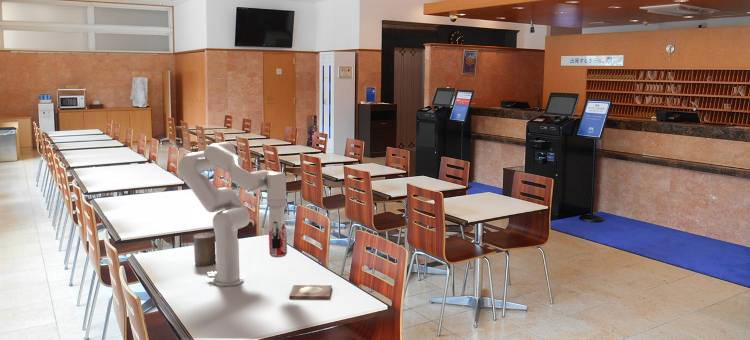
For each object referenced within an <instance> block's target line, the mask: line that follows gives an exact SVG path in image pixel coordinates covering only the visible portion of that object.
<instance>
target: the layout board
mask: <svg viewBox="0 0 750 340" xmlns="http://www.w3.org/2000/svg"><path fill="white" fill-rule="evenodd" d="M332 286H333V285H331V284H330V285H324V284H323V285H322V284H321V285H320V284H319V285H313V284H309V285H308V284H301V285H300V284H293V286H292V288H291V290H290V293H289V296H288V299H289V300H329V299H330V297H331V292H332Z"/></svg>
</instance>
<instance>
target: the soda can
mask: <svg viewBox="0 0 750 340" xmlns="http://www.w3.org/2000/svg"><path fill="white" fill-rule="evenodd" d="M276 231H279V229H277V230H276ZM272 233H273V229H272V231H271V232H269V231H268V248H269V249H268V250H269V253H268V254H269V255H270V257H272V258H277V259H278V258H284V257H286V255H287V254H288V243H287V227H286V223H284V225H283V226H282V230H281V232H280V237H279V238H280V248H272ZM277 234H278V233H277Z"/></svg>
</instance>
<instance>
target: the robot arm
mask: <svg viewBox="0 0 750 340" xmlns="http://www.w3.org/2000/svg"><path fill="white" fill-rule="evenodd" d="M215 168H219V169H220V170H222V171H224V172H226V173H227V174H228V175H229V177H230V179H231V181H232V182H233V183H234V185H236V186H238V187H239V188H242V189H243V190H245V191H248V192H256V191H259V190H264V189H266V190H267V191H266V193H267V194H266V196H267V197H266V198H267V199H266V202H267V208H269V213H268V233H269V232H271V231H272V229H273V233H272V248H280V238H279V237H280V232H281V230H282V226H283V225H284V224H285V208H286V207H287V181H286V180H287V178H286V174H285V173H284V172H282V171H272V170H270V169H269V170H268V169H262V170H257V171H256V170H255V171H252V172H249V171H248V170H246V169H244V168H243V158H242V156H240V155H239V154H237V150H236V147H235V146H234V145H233V144H232V143H230V142H227V141H222V142H216V143H211V144H208V145H207V146H206V147H205V148H204V150H201V151H195V152H190V153H186V154H185V155H183V156H182V157H181V158H180V160H179V163H178V171H179V175H180V178H181V179H182V180H183V182H184V183H185V184H186V186H188V187H189V189H190V190H191V191H192V192H193V193H194V195H195V197H196V199H198V201H199V202H200V203H201V205H202V207H203V208H204V209H205V210H206V212H209V213H215V212H217V213H215V215H214V216H213V218H212V227H213V231H214V235H215V254H216V271H214V272H213V271H207V272H206V277H208V278H209V279H212V278H213V281H212V283H213V285H216V286H220V287H231V286H233V287H234V286H237V285H240V284H242V283H243V282H244V277H243V276H242V275H240V273H241V272H240V247H239V245H240V243H239V239H238V235H237V233H236V231H237V230H239V229H243V228H245V227H247V226H248V225H249V224H250V221H251V214H250V211H249V210H248V208H247V206H246V205H245V204H244V202H243V201H242V200H241V199H240V197H239V196H238V194H237V193H236V192H235V191H234V190H233V189H232V188H230V187H227V186H226V187H223V186H222V187H219V188H217V187H216V186H215V185H214V184H213V183H212V181H211V180H210V179H209V178H208V177H207V176H205V175H204V174H202V173H201V172H204V171H209V170H213V169H215ZM277 229H279V231H276V230H277ZM277 233H278V234H277Z"/></svg>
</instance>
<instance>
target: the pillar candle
mask: <svg viewBox="0 0 750 340" xmlns="http://www.w3.org/2000/svg"><path fill="white" fill-rule="evenodd" d="M193 248H194V263H195V264H194V265H195V266H196V265H197V266H196V267H210V265H211V266H214V265H215V264H217V262H216V239H215V233H211V232H201V233H196V234H194V235H193ZM213 264H214V265H213Z"/></svg>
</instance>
